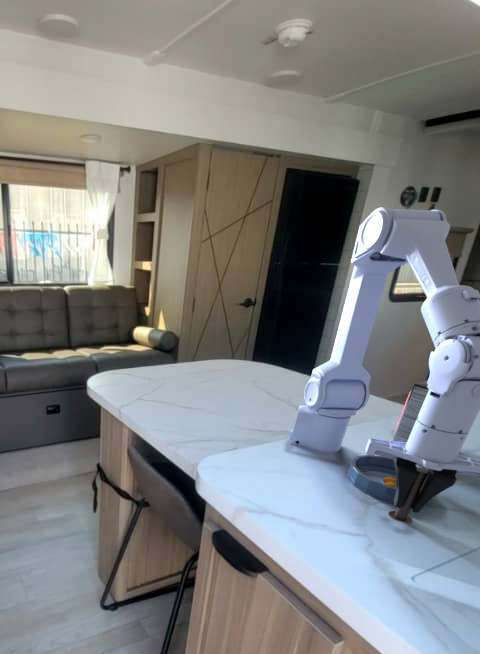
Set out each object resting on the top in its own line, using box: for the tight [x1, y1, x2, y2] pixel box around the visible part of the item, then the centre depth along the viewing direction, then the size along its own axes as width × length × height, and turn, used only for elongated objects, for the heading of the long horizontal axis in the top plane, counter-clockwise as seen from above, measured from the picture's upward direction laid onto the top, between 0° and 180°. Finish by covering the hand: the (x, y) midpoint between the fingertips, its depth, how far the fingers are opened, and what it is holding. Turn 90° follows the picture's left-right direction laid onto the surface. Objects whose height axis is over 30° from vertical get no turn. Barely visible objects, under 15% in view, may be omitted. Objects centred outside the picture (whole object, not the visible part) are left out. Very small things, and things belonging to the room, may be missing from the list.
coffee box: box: [391, 379, 429, 466], centre depth 78 cm, size 9×6×16 cm
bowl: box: [346, 454, 433, 506], centre depth 70 cm, size 12×12×4 cm
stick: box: [388, 467, 429, 524], centre depth 60 cm, size 3×3×9 cm
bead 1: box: [382, 476, 396, 484], centre depth 71 cm, size 2×2×2 cm
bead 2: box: [383, 482, 396, 488], centre depth 69 cm, size 2×2×2 cm
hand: (405, 506), depth 61 cm, fingers closed on stick
